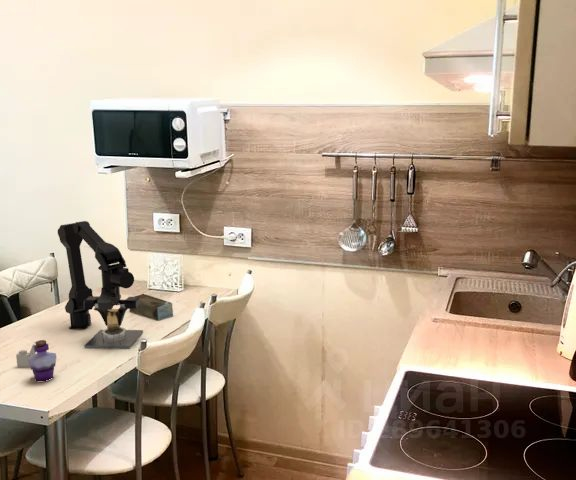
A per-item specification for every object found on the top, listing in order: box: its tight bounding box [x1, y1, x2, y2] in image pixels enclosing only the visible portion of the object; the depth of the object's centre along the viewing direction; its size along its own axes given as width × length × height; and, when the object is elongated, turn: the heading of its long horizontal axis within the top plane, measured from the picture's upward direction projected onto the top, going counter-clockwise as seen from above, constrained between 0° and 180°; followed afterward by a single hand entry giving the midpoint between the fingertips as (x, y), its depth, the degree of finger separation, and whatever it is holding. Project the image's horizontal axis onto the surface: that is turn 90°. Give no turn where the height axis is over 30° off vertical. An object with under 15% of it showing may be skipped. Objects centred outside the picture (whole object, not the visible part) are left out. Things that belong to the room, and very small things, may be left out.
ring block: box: [83, 326, 144, 350], centre depth 224 cm, size 16×16×4 cm
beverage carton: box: [128, 293, 174, 322], centre depth 252 cm, size 8×19×7 cm, turn 50°
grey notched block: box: [15, 341, 37, 368], centre depth 201 cm, size 7×2×8 cm, turn 90°
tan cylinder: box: [106, 308, 121, 332], centre depth 223 cm, size 4×4×7 cm
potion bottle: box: [28, 339, 57, 382], centre depth 191 cm, size 9×9×12 cm
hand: (113, 325), depth 223 cm, fingers closed on tan cylinder, 4 cm apart
